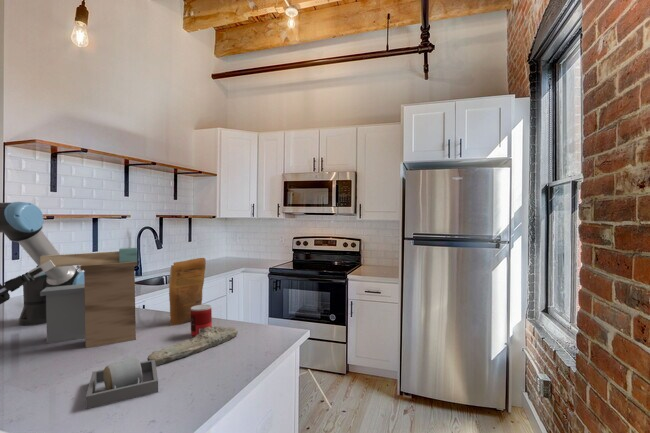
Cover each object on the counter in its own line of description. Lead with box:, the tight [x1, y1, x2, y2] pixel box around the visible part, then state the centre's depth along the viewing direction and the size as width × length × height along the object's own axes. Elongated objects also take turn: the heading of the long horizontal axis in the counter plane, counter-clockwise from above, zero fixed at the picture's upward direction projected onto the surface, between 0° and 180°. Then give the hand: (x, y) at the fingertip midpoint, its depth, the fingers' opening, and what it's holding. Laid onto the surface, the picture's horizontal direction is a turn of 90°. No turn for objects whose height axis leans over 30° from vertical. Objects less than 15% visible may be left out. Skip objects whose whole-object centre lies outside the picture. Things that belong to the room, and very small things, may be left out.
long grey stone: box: [146, 326, 238, 367], centre depth 123 cm, size 35×5×10 cm
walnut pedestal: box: [79, 260, 138, 349], centre depth 133 cm, size 11×18×30 cm, turn 119°
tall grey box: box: [40, 284, 86, 345], centre depth 138 cm, size 10×20×20 cm, turn 119°
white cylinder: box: [103, 355, 143, 391], centre depth 94 cm, size 11×8×8 cm
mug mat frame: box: [85, 360, 159, 410], centre depth 95 cm, size 16×16×3 cm
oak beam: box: [40, 247, 138, 267], centre depth 130 cm, size 6×30×5 cm, turn 119°
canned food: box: [190, 304, 213, 338], centre depth 138 cm, size 8×8×11 cm
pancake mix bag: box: [168, 257, 207, 326], centre depth 156 cm, size 7×19×28 cm, turn 144°
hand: (56, 261), depth 125 cm, fingers open, 13 cm apart
